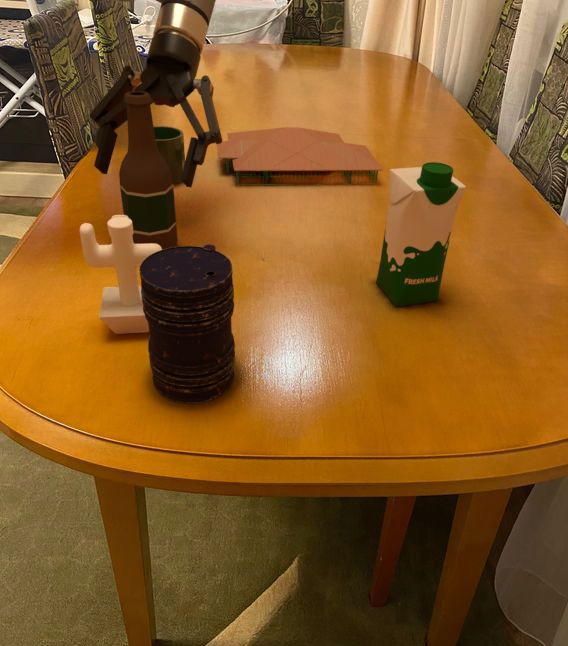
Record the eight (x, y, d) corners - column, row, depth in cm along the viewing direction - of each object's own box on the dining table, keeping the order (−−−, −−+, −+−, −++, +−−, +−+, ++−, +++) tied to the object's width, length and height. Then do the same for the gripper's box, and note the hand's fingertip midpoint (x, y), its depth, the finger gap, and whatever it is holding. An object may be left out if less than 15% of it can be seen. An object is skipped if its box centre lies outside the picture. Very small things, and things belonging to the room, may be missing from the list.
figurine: (170, 337, 79) (160, 231, 70) (94, 341, 77) (74, 234, 68) (169, 307, 84) (160, 206, 75) (99, 310, 83) (81, 207, 74)
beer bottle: (154, 234, 102) (139, 82, 87) (188, 249, 98) (178, 93, 84) (117, 250, 96) (95, 92, 82) (152, 266, 93) (134, 104, 79)
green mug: (193, 181, 121) (191, 136, 115) (153, 189, 117) (148, 142, 111) (168, 163, 128) (164, 119, 123) (129, 170, 124) (123, 125, 118)
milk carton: (392, 311, 87) (415, 176, 75) (367, 280, 94) (385, 151, 82) (446, 304, 89) (476, 172, 77) (418, 273, 96) (442, 148, 84)
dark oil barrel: (134, 389, 70) (114, 250, 59) (179, 343, 78) (168, 213, 67) (210, 414, 68) (203, 273, 57) (249, 364, 75) (249, 232, 64)
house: (215, 147, 138) (213, 110, 133) (355, 148, 143) (359, 112, 138) (220, 186, 120) (219, 145, 115) (381, 185, 125) (386, 145, 120)
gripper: (260, 71, 93) (229, 199, 91) (112, 53, 97) (78, 175, 95) (250, 38, 86) (215, 177, 83) (90, 20, 90) (52, 152, 87)
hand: (142, 176), depth 89 cm, fingers open, 13 cm apart
